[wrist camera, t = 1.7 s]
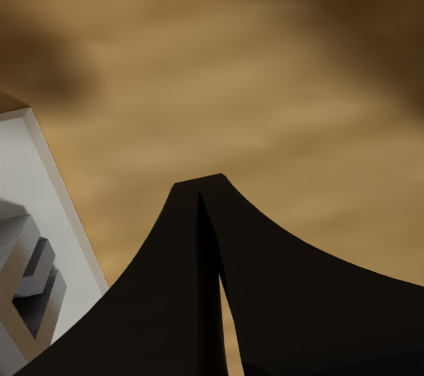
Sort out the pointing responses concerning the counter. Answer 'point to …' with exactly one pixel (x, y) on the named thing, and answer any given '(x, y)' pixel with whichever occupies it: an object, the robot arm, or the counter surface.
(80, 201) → the counter surface
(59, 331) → the rail board
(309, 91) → the counter surface
